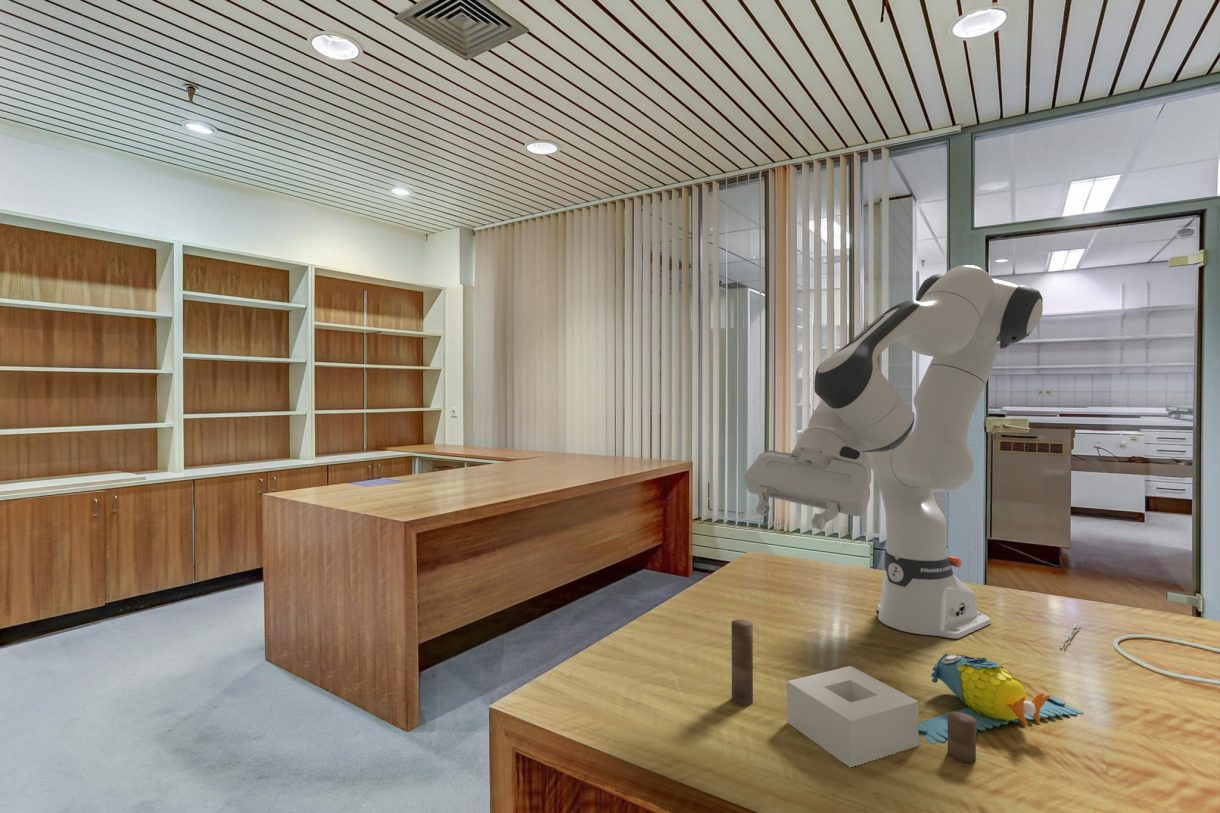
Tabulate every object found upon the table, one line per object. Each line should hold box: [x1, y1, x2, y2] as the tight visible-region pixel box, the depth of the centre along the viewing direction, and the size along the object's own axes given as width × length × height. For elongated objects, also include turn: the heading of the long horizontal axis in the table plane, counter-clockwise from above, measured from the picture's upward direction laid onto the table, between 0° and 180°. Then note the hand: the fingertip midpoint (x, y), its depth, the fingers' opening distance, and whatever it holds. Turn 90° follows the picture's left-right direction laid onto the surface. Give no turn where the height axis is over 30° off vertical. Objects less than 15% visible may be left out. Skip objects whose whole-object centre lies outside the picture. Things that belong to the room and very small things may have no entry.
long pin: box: [731, 619, 754, 707], centre depth 95 cm, size 3×3×12 cm
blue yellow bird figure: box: [919, 652, 1084, 745], centre depth 91 cm, size 28×9×15 cm
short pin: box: [947, 711, 977, 765], centre depth 80 cm, size 3×3×5 cm
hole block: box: [786, 665, 920, 769], centre depth 86 cm, size 12×12×6 cm
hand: (787, 519), depth 99 cm, fingers open, 8 cm apart
